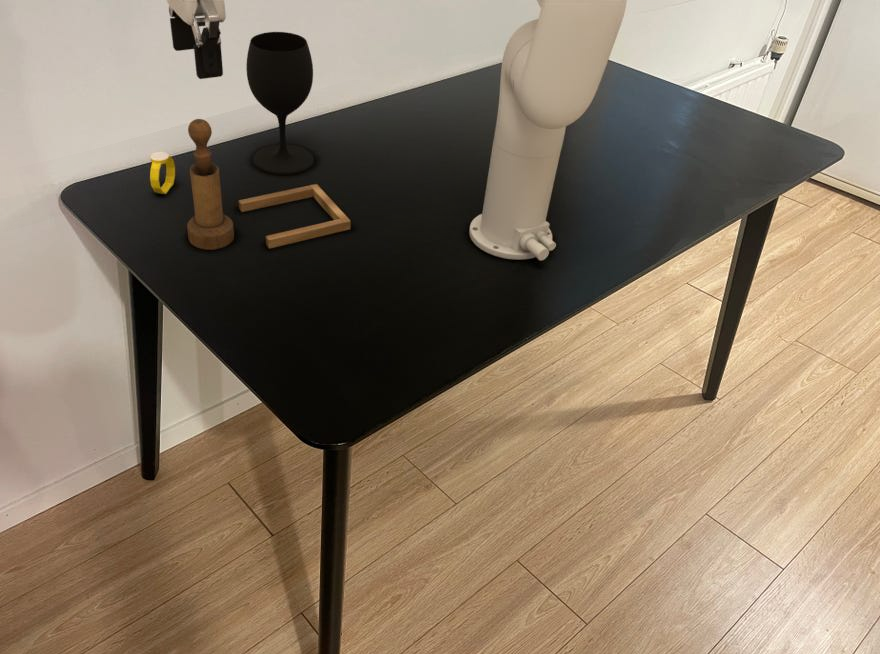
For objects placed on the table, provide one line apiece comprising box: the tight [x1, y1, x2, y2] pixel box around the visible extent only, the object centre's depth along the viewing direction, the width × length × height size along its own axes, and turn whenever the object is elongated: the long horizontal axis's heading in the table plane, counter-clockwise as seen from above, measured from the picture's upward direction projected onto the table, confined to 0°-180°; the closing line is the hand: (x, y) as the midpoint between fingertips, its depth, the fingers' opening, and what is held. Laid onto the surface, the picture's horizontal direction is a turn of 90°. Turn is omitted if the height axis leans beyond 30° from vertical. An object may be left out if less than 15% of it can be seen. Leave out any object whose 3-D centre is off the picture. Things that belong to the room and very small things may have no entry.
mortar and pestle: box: [186, 118, 235, 251], centre depth 108 cm, size 7×6×18 cm
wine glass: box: [245, 31, 315, 176], centre depth 126 cm, size 10×10×20 cm
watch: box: [149, 151, 176, 195], centre depth 121 cm, size 6×3×6 cm, turn 169°
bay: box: [238, 183, 352, 249], centre depth 119 cm, size 12×13×2 cm
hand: (197, 62), depth 100 cm, fingers open, 9 cm apart
